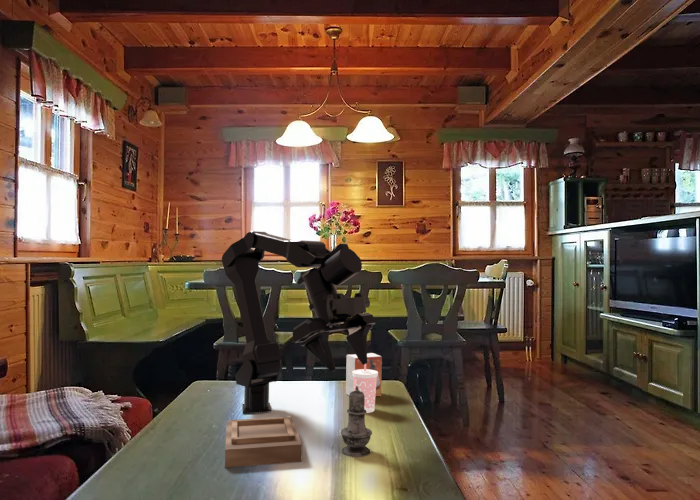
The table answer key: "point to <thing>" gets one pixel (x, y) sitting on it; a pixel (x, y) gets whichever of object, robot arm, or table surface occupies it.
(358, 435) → the antique pepper shaker
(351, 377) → the small box
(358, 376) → the beverage cup
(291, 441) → the walnut plinth
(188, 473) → the table surface
